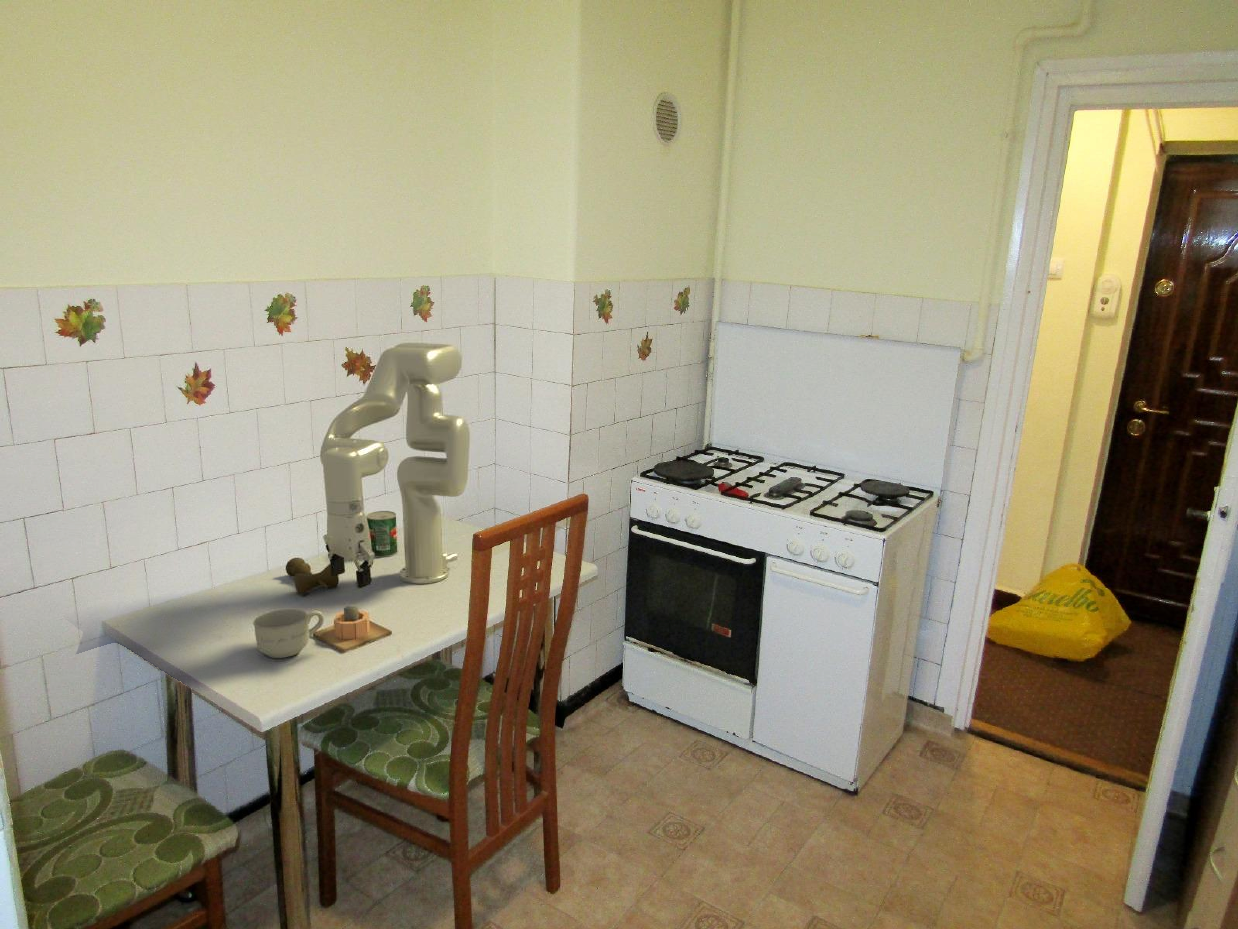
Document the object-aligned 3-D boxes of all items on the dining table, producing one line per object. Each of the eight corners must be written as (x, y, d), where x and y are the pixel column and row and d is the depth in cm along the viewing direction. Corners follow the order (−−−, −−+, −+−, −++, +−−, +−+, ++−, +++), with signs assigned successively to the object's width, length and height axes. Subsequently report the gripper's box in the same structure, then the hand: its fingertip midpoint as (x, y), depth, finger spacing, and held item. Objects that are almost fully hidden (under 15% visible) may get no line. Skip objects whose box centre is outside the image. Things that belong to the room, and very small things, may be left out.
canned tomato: (363, 552, 246) (361, 514, 243) (388, 546, 251) (387, 508, 248) (377, 559, 240) (375, 521, 237) (403, 553, 245) (401, 515, 243)
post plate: (360, 619, 203) (358, 593, 201) (391, 634, 195) (390, 607, 194) (313, 636, 194) (311, 609, 192) (344, 652, 186) (342, 624, 185)
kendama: (313, 572, 232) (347, 593, 217) (277, 582, 226) (309, 604, 211) (311, 551, 231) (344, 570, 216) (274, 560, 224) (306, 580, 210)
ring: (356, 622, 199) (355, 607, 198) (375, 631, 195) (374, 616, 194) (329, 632, 194) (328, 617, 193) (347, 642, 190) (346, 626, 189)
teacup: (257, 667, 180) (253, 631, 178) (255, 645, 189) (252, 610, 187) (328, 655, 185) (326, 620, 183) (323, 634, 195) (321, 601, 193)
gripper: (384, 510, 185) (389, 585, 190) (337, 493, 195) (343, 565, 200) (353, 519, 179) (359, 597, 184) (306, 501, 190) (313, 575, 195)
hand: (351, 580), depth 192 cm, fingers open, 9 cm apart
